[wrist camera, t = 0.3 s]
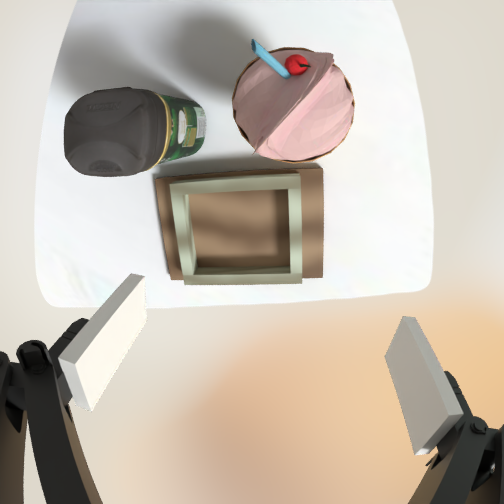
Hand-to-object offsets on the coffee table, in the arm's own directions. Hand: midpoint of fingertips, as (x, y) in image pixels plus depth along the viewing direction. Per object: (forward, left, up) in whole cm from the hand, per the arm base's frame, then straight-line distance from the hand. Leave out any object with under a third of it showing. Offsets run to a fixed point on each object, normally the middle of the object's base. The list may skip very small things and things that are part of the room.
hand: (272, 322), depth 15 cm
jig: (+4, -5, -28) cm, 28 cm away
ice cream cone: (-11, +2, -28) cm, 30 cm away
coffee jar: (-10, -13, -28) cm, 33 cm away
